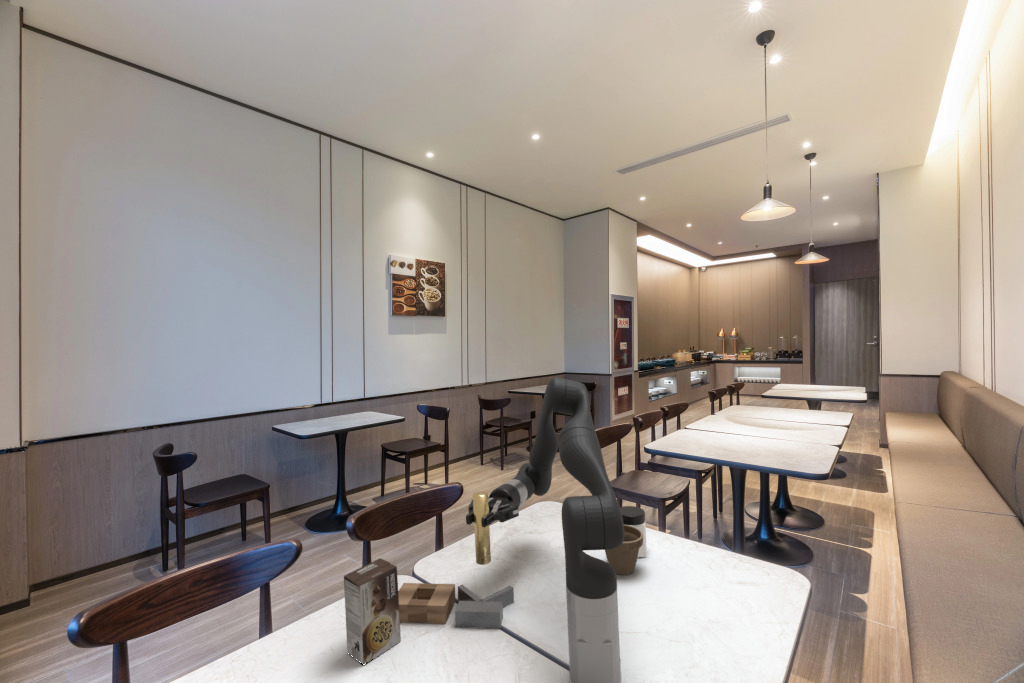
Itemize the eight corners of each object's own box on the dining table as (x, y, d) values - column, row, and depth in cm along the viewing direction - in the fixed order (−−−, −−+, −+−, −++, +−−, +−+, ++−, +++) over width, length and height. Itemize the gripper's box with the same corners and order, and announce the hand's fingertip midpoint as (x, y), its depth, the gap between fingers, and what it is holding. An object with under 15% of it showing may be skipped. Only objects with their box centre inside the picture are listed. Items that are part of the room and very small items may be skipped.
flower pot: (654, 574, 116) (652, 536, 116) (617, 584, 112) (615, 545, 112) (627, 555, 127) (625, 520, 127) (593, 564, 123) (591, 528, 123)
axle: (489, 564, 104) (486, 497, 104) (474, 564, 105) (471, 497, 105) (492, 557, 108) (489, 491, 108) (477, 557, 108) (474, 491, 108)
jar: (619, 543, 134) (617, 504, 135) (647, 547, 132) (645, 506, 132) (615, 557, 126) (614, 515, 126) (645, 561, 123) (643, 518, 123)
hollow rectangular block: (445, 623, 99) (445, 605, 99) (390, 621, 101) (389, 604, 101) (455, 600, 108) (455, 584, 108) (404, 599, 110) (403, 582, 110)
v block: (508, 628, 96) (508, 612, 96) (447, 626, 98) (446, 610, 98) (514, 600, 107) (513, 585, 107) (459, 598, 109) (458, 584, 109)
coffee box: (383, 630, 98) (380, 557, 98) (401, 641, 94) (398, 565, 94) (345, 653, 91) (342, 574, 91) (363, 667, 87) (360, 584, 87)
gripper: (485, 480, 122) (449, 502, 107) (532, 486, 116) (501, 509, 100) (486, 507, 122) (450, 533, 107) (533, 514, 116) (502, 542, 100)
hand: (475, 521), depth 104 cm, fingers closed on axle, 3 cm apart
